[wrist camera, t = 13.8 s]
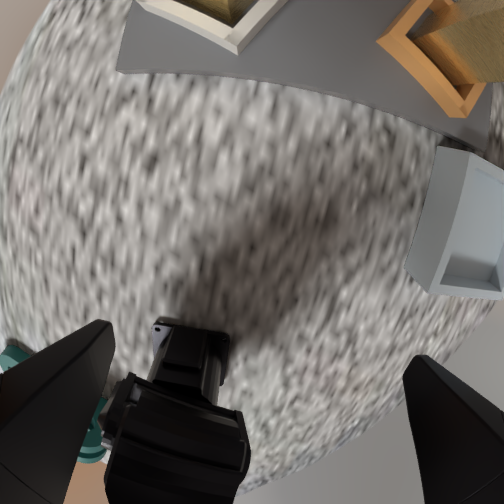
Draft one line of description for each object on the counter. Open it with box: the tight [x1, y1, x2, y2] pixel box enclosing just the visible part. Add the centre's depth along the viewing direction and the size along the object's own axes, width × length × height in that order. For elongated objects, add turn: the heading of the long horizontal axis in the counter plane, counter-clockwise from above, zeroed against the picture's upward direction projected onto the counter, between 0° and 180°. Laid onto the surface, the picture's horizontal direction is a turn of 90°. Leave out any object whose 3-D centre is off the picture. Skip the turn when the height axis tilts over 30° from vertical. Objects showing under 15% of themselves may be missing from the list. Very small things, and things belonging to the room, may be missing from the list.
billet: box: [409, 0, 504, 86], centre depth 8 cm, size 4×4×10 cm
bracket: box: [0, 345, 108, 463], centre depth 24 cm, size 18×7×8 cm, turn 62°
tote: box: [404, 146, 504, 300], centre depth 17 cm, size 10×10×4 cm
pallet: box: [116, 0, 493, 152], centre depth 12 cm, size 12×26×4 cm, turn 81°
